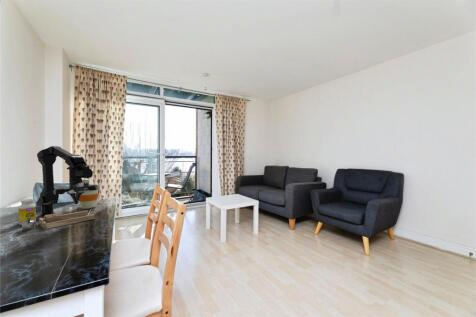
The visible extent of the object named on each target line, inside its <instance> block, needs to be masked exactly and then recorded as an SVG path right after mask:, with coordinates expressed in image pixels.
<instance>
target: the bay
mask: <svg viewBox="0 0 476 317" xmlns="http://www.w3.org/2000/svg"><path fill="white" fill-rule="evenodd" d="M88 213H89V211H88V210H82V211H81V210H80V211H76V212H71V213H65V214H61V215H62V221H56V222H51V223H46V222H45V217H39V218H38V220H39V221H38V222H39V225H40V226H41V228H42V229H43V230H48V229H53V228H57V227H62V226H66V225H67V226H68V225H72V224H77V223H81V222H86V221H91V220H95V214H94V213H93V214H88Z"/></svg>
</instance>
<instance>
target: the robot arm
mask: <svg viewBox="0 0 476 317" xmlns="http://www.w3.org/2000/svg"><path fill="white" fill-rule="evenodd" d="M36 157H37V161H38V163H40V165H41V168H42V170H41V171H42V188H43V189H42V190H41V191H40V193H39V198H38V199H37V201H36V202H35V205H36V207H40V213H39V216H40V217H44V215H50V214H56V212H55V211H54V204H58V202H59V199H60V196H59V195H64V194H65V193H66V194H67V195H70V197H71V198H72V201H73V203H74V204H75V205H78V203H79V202H80V201H79V198H80V196H81V195H82V193H85V192H84V190H90V191H93V190H96V186H95V185H96V184H89V182H88V181H85V182H83V179H90V178H92V176H93V174H94V172H93V169H91V168H90V166H88V163H87V162H86V161H85V158H84V157H83V156H82V155H80V154H74V153H72V152H70V151H67V150H66V149H63V148H62V147H61V146H57V145H51V146H49V147H47V148H45V149H41V150H39V151H38V152H37V153H36ZM58 157H59V158H60V159H62V160H64V163H65V164H66V165H67V168H66V170H68V181H69V182H68V183H69V186H68V188H64V187H59V188H58V187H57V188H55V181H54V164H55V162H57V158H58Z"/></svg>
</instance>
